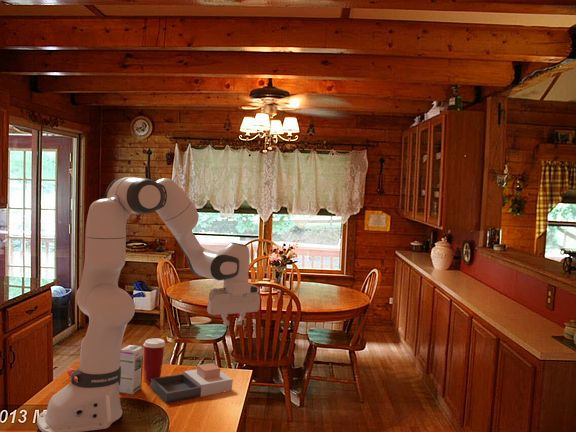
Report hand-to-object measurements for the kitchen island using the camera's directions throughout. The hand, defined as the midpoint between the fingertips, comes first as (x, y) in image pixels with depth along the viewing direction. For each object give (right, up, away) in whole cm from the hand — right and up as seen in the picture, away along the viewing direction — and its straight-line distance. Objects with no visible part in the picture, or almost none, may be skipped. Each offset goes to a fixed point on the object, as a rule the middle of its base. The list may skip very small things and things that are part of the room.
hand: (232, 325), depth 170 cm
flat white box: (-8, -21, -5) cm, 23 cm away
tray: (-18, -20, -12) cm, 29 cm away
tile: (-8, -17, -5) cm, 19 cm away
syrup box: (-33, -19, -13) cm, 41 cm away
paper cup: (-29, -19, -2) cm, 35 cm away
